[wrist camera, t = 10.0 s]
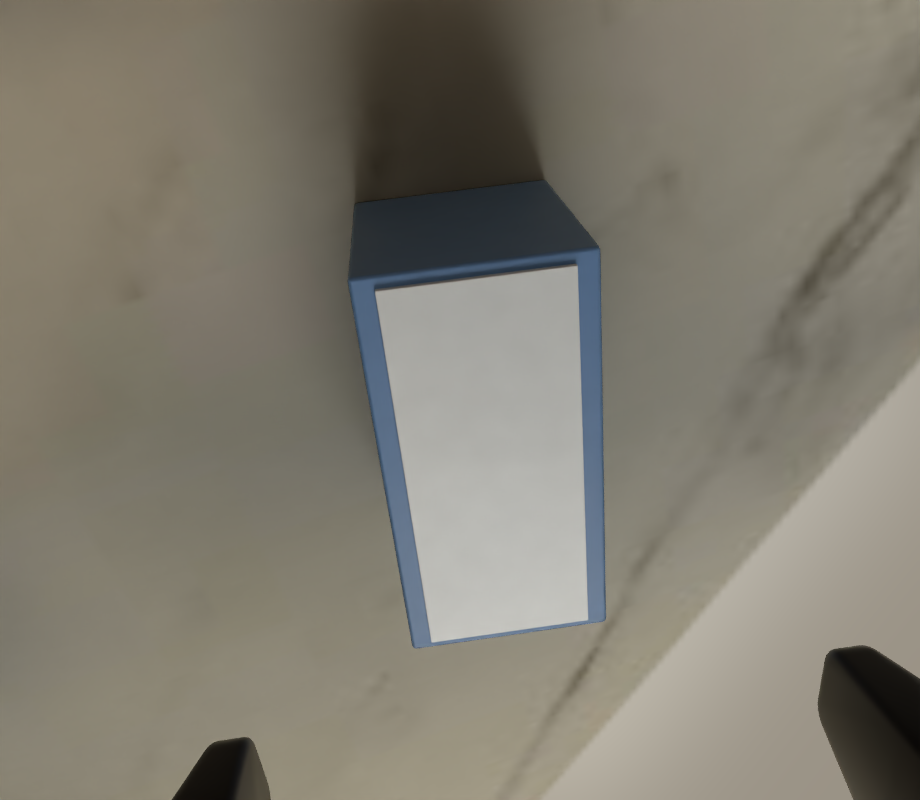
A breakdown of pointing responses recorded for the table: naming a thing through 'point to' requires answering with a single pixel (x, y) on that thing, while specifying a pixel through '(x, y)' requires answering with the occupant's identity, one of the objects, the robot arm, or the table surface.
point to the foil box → (485, 406)
